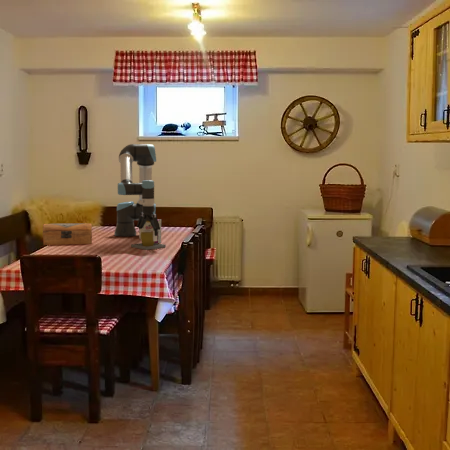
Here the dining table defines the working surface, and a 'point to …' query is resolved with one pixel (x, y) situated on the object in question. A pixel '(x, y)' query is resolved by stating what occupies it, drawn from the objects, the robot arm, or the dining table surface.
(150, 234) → the flower pot
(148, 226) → the candy bar box
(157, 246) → the plant tray
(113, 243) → the dining table surface
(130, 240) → the dining table surface
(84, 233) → the wooden box
